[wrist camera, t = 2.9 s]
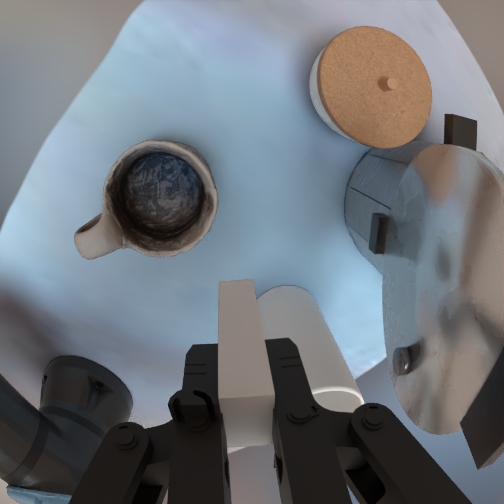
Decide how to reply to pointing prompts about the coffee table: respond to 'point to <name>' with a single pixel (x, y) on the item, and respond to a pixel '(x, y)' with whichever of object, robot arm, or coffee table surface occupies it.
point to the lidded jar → (371, 88)
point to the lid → (448, 296)
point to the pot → (390, 186)
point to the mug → (152, 203)
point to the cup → (310, 345)
